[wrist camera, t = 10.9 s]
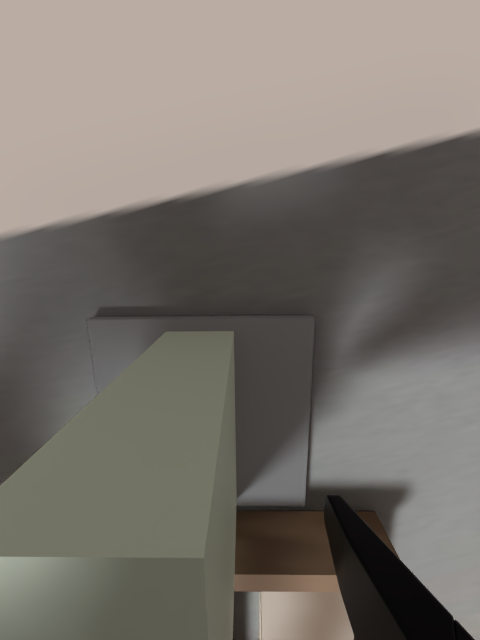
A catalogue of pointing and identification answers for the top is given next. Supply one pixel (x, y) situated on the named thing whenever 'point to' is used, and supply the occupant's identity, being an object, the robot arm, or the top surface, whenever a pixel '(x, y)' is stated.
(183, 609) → the pale green square slab
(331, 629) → the upper offcut
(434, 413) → the top surface
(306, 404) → the mat
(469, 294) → the top surface
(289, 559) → the rack
